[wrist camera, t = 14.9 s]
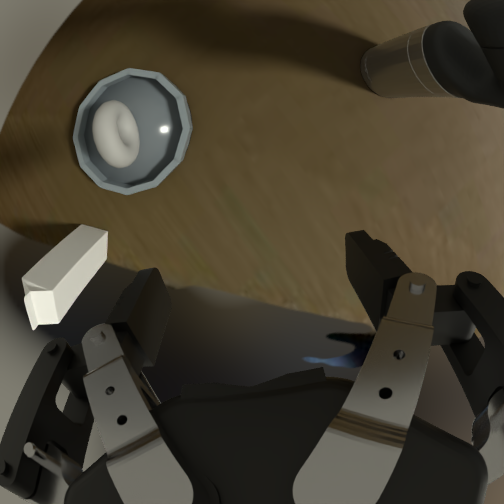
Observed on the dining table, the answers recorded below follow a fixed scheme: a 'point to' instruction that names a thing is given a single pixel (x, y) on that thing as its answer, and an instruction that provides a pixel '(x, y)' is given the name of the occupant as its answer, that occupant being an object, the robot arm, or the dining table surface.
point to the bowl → (149, 127)
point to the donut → (116, 134)
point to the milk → (63, 274)
